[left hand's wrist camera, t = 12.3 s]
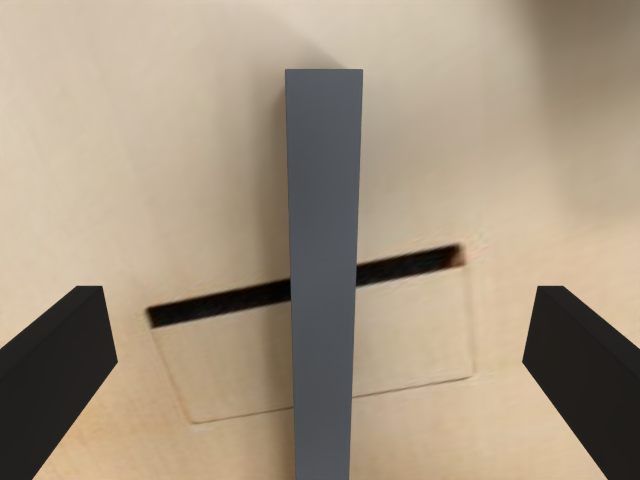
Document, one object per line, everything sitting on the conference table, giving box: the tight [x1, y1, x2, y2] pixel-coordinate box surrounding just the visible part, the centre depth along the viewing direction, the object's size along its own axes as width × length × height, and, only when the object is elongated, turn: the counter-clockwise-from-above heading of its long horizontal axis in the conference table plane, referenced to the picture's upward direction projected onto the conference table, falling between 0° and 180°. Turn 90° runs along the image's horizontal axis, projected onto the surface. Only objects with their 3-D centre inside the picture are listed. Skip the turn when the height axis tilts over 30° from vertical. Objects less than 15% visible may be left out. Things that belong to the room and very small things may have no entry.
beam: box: [285, 69, 363, 480], centre depth 41 cm, size 62×5×8 cm, turn 0°
